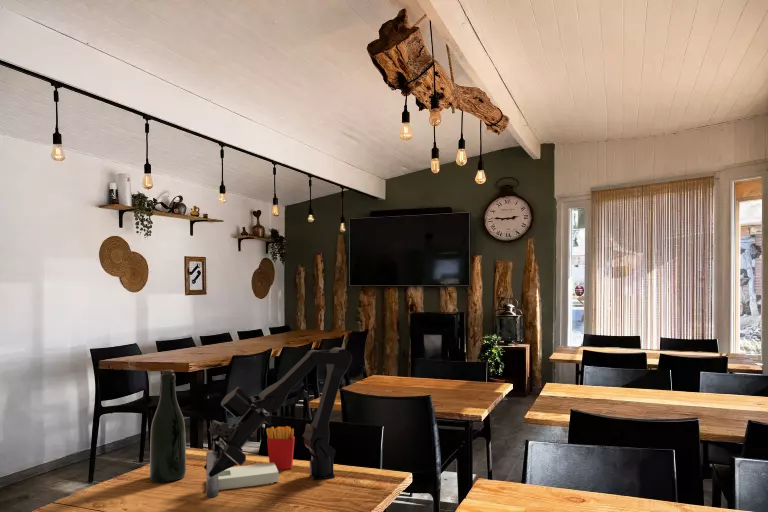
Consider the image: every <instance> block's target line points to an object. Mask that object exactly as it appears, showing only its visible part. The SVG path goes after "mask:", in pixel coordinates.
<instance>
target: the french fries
mask: <svg viewBox="0 0 768 512" xmlns="http://www.w3.org/2000/svg"><path fill="white" fill-rule="evenodd" d="M265 431H266V436H267V438H266V442H267V454H268V463H273V462H274V463H275V465H276V468H277V470H289V468H291V469H292V467H293V463H294V462H293V461H294V450H295V438H296V437H295V436H294V434H295V432H294V431H295V429H294V427H293V428H291V426H288V425H286V426H277V427H274V426H271V427H267V428H265Z"/></svg>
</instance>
